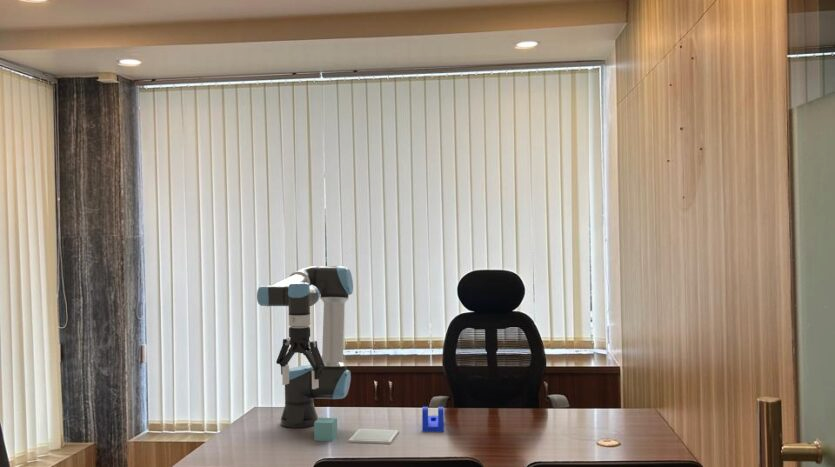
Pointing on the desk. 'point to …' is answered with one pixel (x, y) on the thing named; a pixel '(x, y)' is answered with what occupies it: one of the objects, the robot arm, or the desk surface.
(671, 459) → the desk surface
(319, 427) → the cube
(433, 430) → the bracket
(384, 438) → the white square tray
